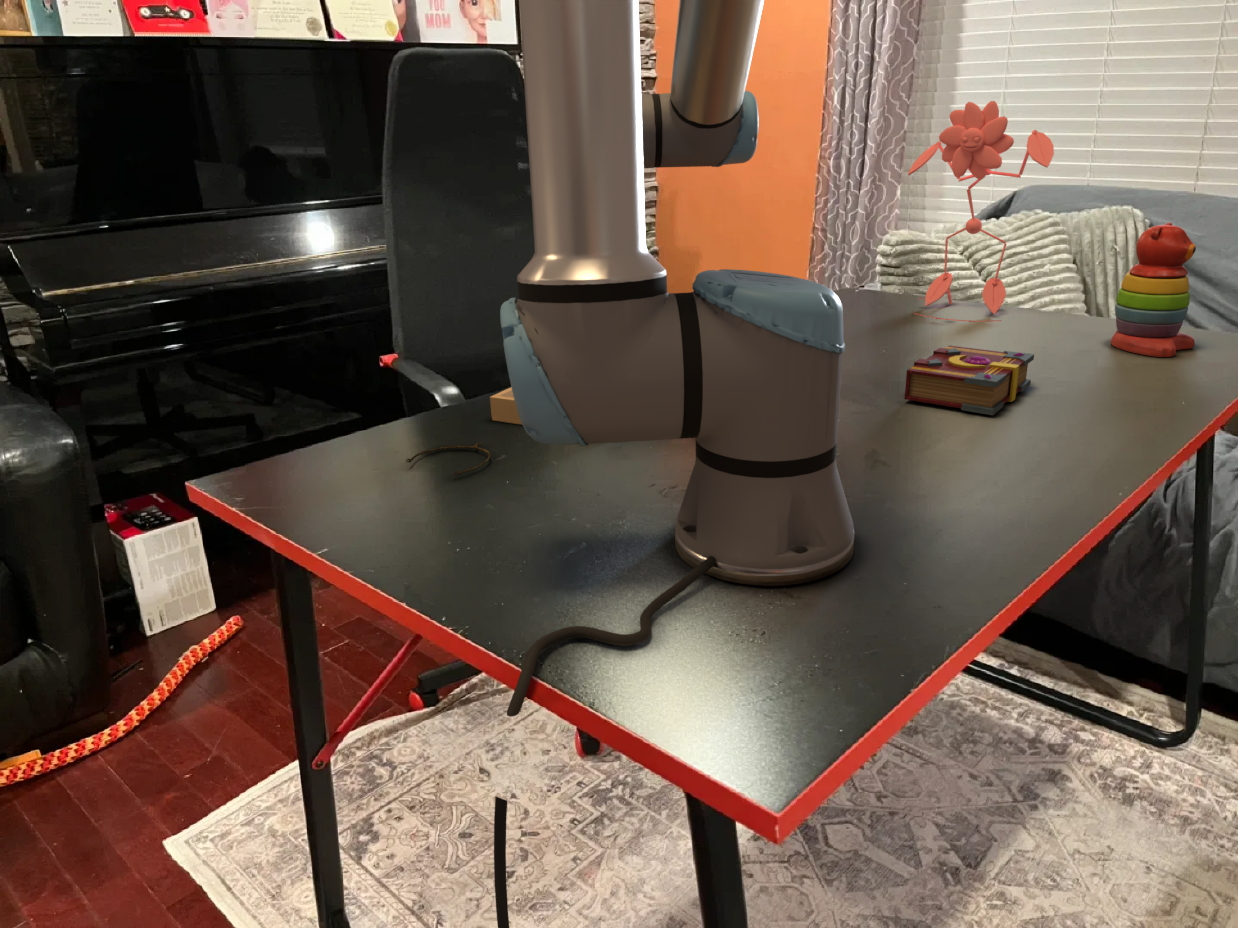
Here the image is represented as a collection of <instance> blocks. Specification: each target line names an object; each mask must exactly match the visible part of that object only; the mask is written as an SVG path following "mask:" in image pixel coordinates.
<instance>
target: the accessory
mask: <svg viewBox="0 0 1238 928" xmlns="http://www.w3.org/2000/svg"><path fill="white" fill-rule="evenodd" d="M482 444H483V443H482V442H481V441H480V442H479V441H478V442H476V443H475V444H474V445H470V446H469V445H467V446H466V445H454V446H453V445H450V446H444V447H443V446H442V447H437V448H432V449H431V448H430V449H429V450H423V451H420V452H418V453H416V454H414V455H413V456H412V457H411V458H406V459H405V462H406V463H411V462H412V461H413V460H414V459H416V458H417V457H419V456H420V455H423V454H427V453H432V452H435V451H439V450H448V449H450V450H451V449H473V450H479V451H482V452H485V453H486V454H487V458H486V459H485V460H484V461H482V462H481V463H479V464H478V465H476V466H474V467H472V468H468V469H464V470H461V471H455V472H453V473H452V475H454V476H459V475H462V474H464V473H465V474H466V473H467V472H472V471H475V470H476V469H478V468H480V467H482V466H484V465H485V464H486V463H487V462H489V461H490V459H491V458H492V454H491V452H490V451H489V450H488V449H485V448H483V447H479V446H481V445H482Z"/></svg>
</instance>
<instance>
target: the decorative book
mask: <svg viewBox="0 0 1238 928" xmlns="http://www.w3.org/2000/svg"><path fill="white" fill-rule="evenodd" d="M932 353H933V354H932V355H930V356H929V357H927V358H919V359H917V360H915V361H914V362H913V366H911V367H909V368H908V369H907V370H906V376H905V378H906V379H905V388H904V400H908V401H912V402H913V401H914V402H919V403H920V402H921V403H925V404H933V405H939V406H945V407H951V408H957V409H960V410H961V411H965V412H970V413H976V414H981V415H982V414H983V415H988V416H994V415H995V414H997V412H999V411H1000V410H1001V409H1002V408H1003V407H1004V405H1005V404H1006V403H1007V402H1008V403H1012V402H1013V401H1015V400H1016V398H1017V397H1016V396H1017V394H1018V393H1022V392H1023V391H1025V390H1026V389H1027V388H1029V387H1030V386H1031V383H1032V379H1027V374H1028V367H1029V364H1030V363H1031V362H1032V361H1034V360H1035V353H1028V352H1019V351H1012V350H1011V351H1010V350H1003V351H997V350H989V349H982V348H974V347H965V346H959V345H958V346H957V345H948V346H946V347H938V348H935V349H934V350H933V352H932Z"/></svg>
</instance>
